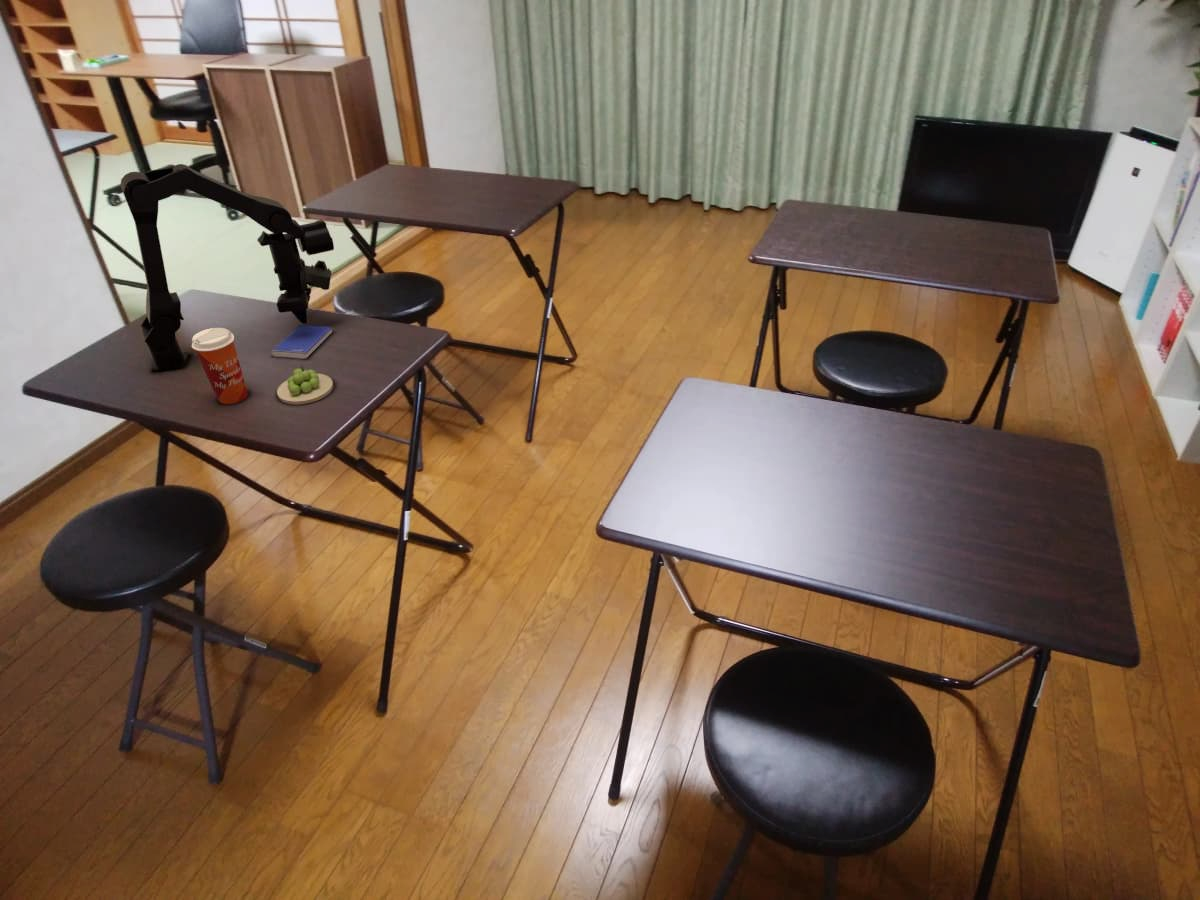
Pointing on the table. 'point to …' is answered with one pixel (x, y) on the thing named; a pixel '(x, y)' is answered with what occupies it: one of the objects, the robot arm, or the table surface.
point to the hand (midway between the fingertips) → (304, 322)
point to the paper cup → (221, 364)
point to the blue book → (302, 341)
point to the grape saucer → (306, 397)
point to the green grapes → (302, 381)
